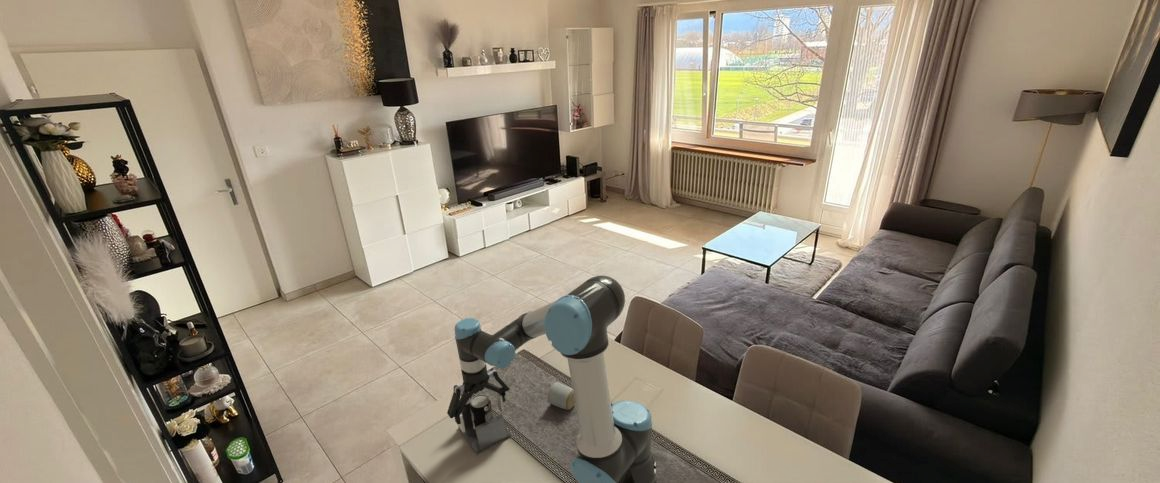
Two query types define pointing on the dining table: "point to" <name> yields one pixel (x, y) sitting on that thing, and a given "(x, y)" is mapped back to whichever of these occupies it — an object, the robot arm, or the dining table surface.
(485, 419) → the beverage can
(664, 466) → the dining table surface
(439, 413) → the dining table surface
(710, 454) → the dining table surface
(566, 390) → the ceramic mug
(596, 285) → the robot arm
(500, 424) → the holder
